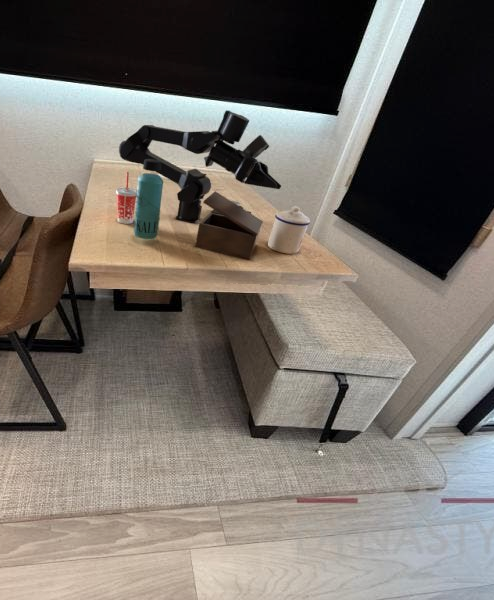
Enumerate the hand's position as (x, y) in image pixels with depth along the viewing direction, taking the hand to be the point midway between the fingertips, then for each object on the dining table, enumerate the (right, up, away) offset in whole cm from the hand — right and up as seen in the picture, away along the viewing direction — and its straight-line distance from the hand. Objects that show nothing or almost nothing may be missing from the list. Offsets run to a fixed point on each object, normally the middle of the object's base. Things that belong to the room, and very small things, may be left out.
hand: (278, 187), depth 88 cm
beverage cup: (-42, -7, +10) cm, 44 cm away
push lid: (-7, +1, +22) cm, 23 cm away
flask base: (-8, -2, +24) cm, 25 cm away
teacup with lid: (+3, -15, +6) cm, 17 cm away
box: (-14, -16, +2) cm, 21 cm away
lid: (-13, -8, -3) cm, 15 cm away
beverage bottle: (-36, -15, -1) cm, 39 cm away
